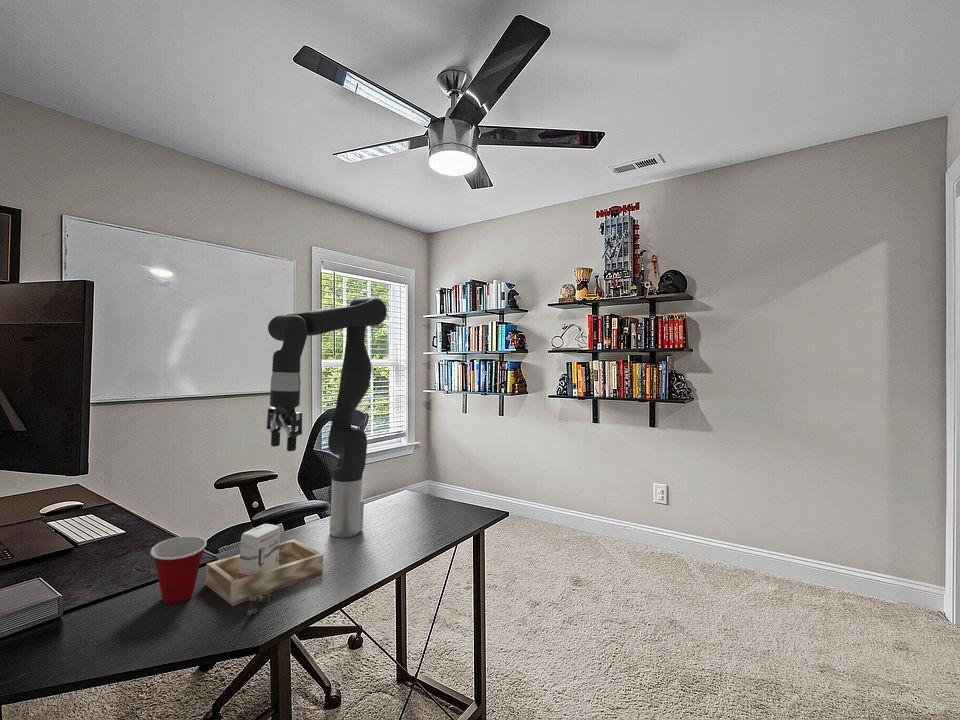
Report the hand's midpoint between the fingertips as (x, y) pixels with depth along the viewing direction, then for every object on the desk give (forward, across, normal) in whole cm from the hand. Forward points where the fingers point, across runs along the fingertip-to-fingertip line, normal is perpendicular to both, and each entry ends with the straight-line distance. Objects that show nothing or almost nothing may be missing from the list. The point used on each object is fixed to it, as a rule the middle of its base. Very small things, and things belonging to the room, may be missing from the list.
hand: (283, 448), depth 132 cm
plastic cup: (+30, -4, +26) cm, 40 cm away
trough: (+30, -9, +8) cm, 32 cm away
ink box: (+29, -9, +10) cm, 32 cm away
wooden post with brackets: (+30, -21, +16) cm, 40 cm away
